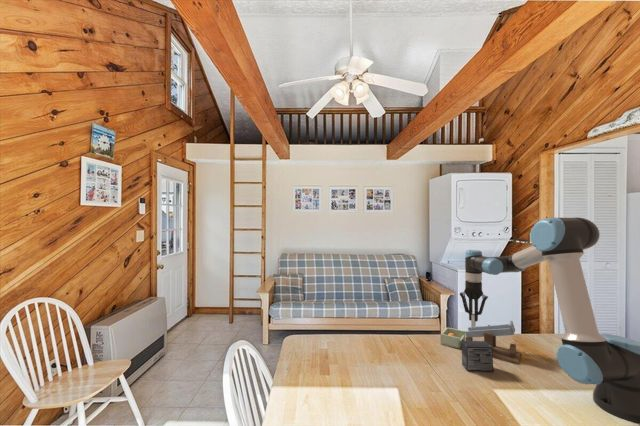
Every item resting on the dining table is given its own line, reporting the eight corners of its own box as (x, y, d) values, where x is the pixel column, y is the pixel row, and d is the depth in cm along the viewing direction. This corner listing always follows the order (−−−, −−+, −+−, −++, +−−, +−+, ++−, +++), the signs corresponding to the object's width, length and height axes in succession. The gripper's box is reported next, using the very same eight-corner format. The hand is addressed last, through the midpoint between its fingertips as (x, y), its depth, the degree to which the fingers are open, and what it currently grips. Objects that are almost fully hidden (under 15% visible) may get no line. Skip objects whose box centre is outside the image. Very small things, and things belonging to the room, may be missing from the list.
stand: (518, 363, 131) (518, 339, 131) (461, 349, 145) (460, 327, 145) (520, 354, 140) (520, 331, 140) (466, 341, 154) (466, 320, 154)
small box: (486, 364, 131) (486, 340, 131) (493, 372, 124) (493, 347, 124) (461, 363, 132) (461, 339, 132) (466, 371, 125) (466, 346, 125)
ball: (456, 337, 150) (448, 332, 152) (452, 344, 151) (445, 339, 153) (458, 335, 153) (450, 330, 155) (454, 341, 154) (447, 336, 156)
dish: (460, 349, 145) (459, 338, 145) (440, 344, 151) (440, 333, 151) (465, 341, 154) (465, 331, 154) (446, 337, 160) (446, 327, 160)
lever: (513, 335, 133) (510, 325, 134) (465, 338, 145) (462, 329, 146) (516, 326, 144) (513, 316, 145) (471, 329, 156) (469, 320, 157)
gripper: (489, 281, 153) (489, 327, 153) (461, 277, 160) (461, 322, 161) (486, 284, 147) (486, 332, 147) (457, 280, 155) (457, 326, 155)
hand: (473, 327), depth 154 cm, fingers closed
